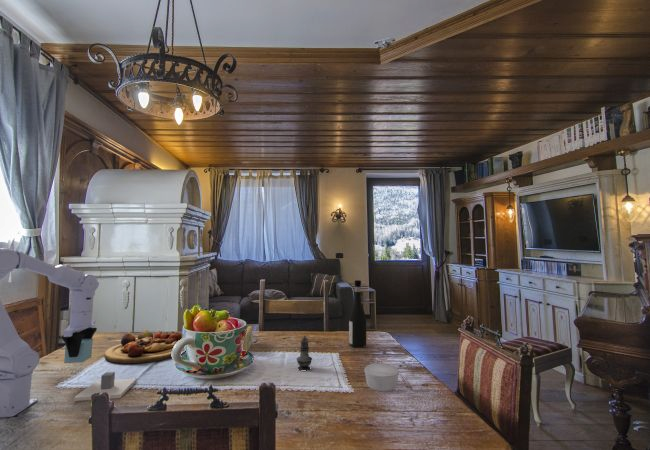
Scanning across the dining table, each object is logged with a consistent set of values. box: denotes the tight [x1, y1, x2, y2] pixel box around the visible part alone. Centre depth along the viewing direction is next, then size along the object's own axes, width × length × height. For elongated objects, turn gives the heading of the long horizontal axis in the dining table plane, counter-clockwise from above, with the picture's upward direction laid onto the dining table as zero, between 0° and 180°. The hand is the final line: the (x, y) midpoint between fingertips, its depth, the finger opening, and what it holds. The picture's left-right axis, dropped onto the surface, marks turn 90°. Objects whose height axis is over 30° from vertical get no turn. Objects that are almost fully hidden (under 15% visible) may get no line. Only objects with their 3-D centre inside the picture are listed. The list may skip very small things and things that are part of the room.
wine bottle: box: [348, 279, 367, 348], centre depth 150 cm, size 8×8×30 cm
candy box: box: [243, 325, 253, 352], centre depth 143 cm, size 16×2×8 cm, turn 4°
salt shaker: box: [296, 335, 313, 372], centre depth 119 cm, size 6×6×12 cm
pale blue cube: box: [63, 338, 94, 364], centre depth 104 cm, size 5×5×6 cm
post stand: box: [73, 371, 137, 402], centre depth 99 cm, size 12×12×5 cm
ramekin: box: [363, 363, 400, 392], centre depth 105 cm, size 11×11×5 cm
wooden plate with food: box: [103, 329, 183, 364], centre depth 137 cm, size 32×32×8 cm
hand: (78, 354), depth 104 cm, fingers closed on pale blue cube, 5 cm apart
